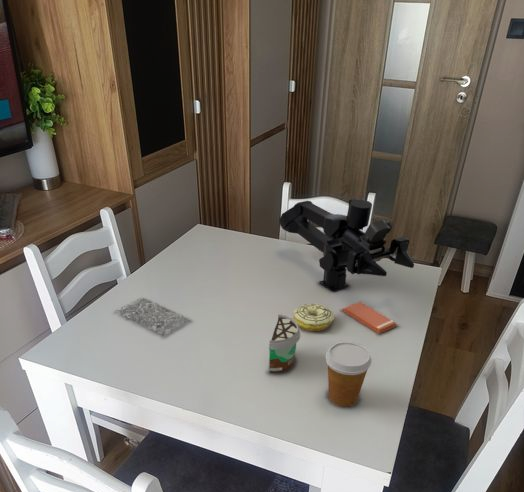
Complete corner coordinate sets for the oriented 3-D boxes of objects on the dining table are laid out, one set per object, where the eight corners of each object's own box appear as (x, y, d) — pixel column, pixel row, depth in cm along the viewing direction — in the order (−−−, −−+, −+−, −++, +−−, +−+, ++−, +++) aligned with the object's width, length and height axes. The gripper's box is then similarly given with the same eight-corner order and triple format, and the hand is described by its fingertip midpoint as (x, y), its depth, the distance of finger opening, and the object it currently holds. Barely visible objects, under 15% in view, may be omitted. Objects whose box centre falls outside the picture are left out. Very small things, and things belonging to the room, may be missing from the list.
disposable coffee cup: (317, 384, 110) (322, 341, 103) (358, 382, 111) (365, 339, 104) (325, 413, 102) (330, 368, 96) (370, 411, 103) (378, 366, 96)
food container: (294, 380, 111) (296, 345, 106) (268, 377, 112) (269, 341, 107) (301, 349, 121) (304, 315, 116) (277, 346, 122) (278, 312, 117)
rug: (142, 298, 141) (141, 295, 141) (190, 321, 131) (190, 318, 131) (114, 312, 135) (114, 309, 134) (163, 337, 125) (163, 334, 124)
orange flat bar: (342, 311, 137) (343, 306, 136) (359, 304, 140) (359, 300, 139) (379, 334, 127) (379, 329, 126) (395, 326, 130) (396, 322, 130)
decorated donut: (340, 322, 132) (341, 310, 130) (316, 338, 125) (317, 326, 123) (310, 308, 138) (311, 296, 136) (285, 323, 131) (286, 311, 129)
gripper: (338, 221, 123) (377, 249, 113) (393, 209, 131) (435, 234, 121) (331, 259, 130) (368, 289, 120) (384, 245, 138) (423, 272, 128)
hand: (399, 270), depth 122 cm, fingers open, 9 cm apart
